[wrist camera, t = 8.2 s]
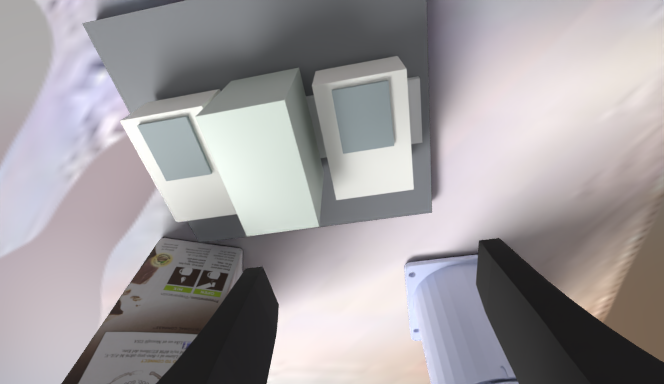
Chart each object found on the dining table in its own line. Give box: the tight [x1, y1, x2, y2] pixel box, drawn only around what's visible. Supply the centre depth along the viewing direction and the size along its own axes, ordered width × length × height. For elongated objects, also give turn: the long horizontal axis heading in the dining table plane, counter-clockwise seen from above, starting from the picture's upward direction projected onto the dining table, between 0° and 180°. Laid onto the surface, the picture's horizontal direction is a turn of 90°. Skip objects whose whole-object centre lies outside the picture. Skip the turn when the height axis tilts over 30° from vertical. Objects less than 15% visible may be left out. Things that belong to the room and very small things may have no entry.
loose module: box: [195, 68, 324, 237], centre depth 16 cm, size 6×4×5 cm, turn 11°
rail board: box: [82, 0, 432, 243], centre depth 18 cm, size 14×16×4 cm
